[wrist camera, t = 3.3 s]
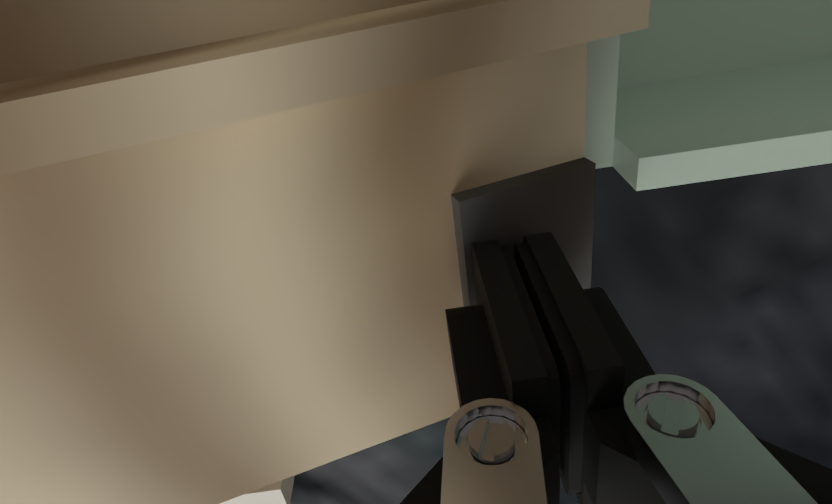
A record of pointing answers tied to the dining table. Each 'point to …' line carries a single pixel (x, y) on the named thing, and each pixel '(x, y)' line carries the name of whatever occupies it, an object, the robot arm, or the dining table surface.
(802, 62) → the bin
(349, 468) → the dining table surface
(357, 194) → the beige flat panel
